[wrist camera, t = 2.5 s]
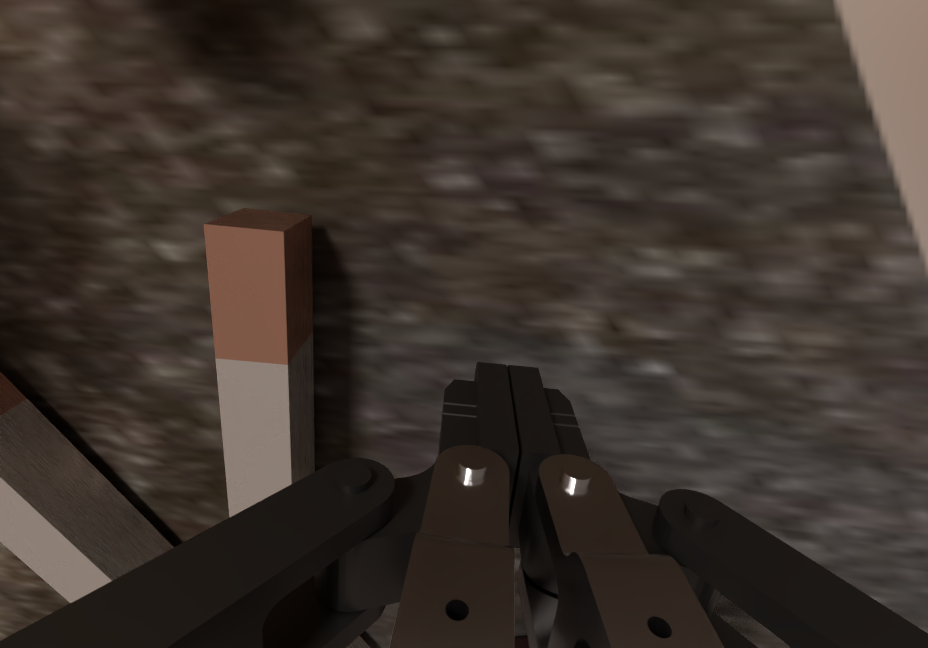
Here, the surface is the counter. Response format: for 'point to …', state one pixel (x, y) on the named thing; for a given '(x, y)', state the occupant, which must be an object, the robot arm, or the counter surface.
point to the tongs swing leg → (263, 349)
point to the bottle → (521, 642)
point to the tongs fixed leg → (66, 507)
